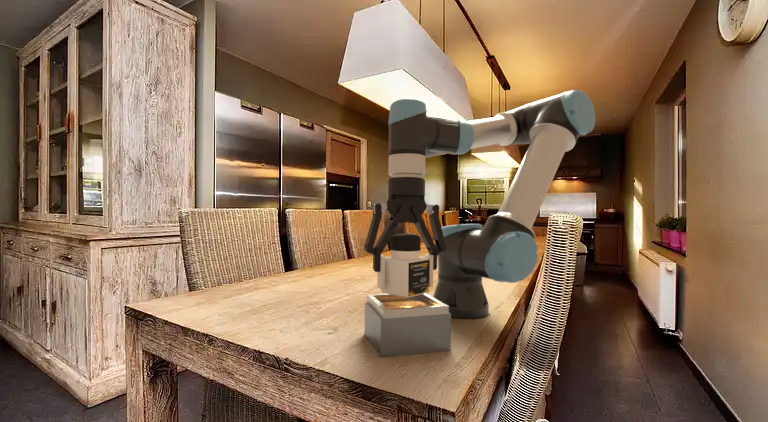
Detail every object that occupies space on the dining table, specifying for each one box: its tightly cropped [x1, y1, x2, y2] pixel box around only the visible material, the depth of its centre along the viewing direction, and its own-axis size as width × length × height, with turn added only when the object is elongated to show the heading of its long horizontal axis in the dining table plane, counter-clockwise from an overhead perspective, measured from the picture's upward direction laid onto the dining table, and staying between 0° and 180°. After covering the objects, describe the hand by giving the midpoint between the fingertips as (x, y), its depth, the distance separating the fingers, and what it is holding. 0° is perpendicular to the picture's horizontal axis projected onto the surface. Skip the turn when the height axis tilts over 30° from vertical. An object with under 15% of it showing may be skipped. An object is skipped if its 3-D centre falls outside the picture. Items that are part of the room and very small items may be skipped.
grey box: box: [364, 293, 452, 358], centre depth 74 cm, size 14×13×8 cm
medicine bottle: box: [380, 233, 430, 298], centre depth 74 cm, size 7×7×12 cm
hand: (405, 286), depth 74 cm, fingers closed on medicine bottle, 10 cm apart
